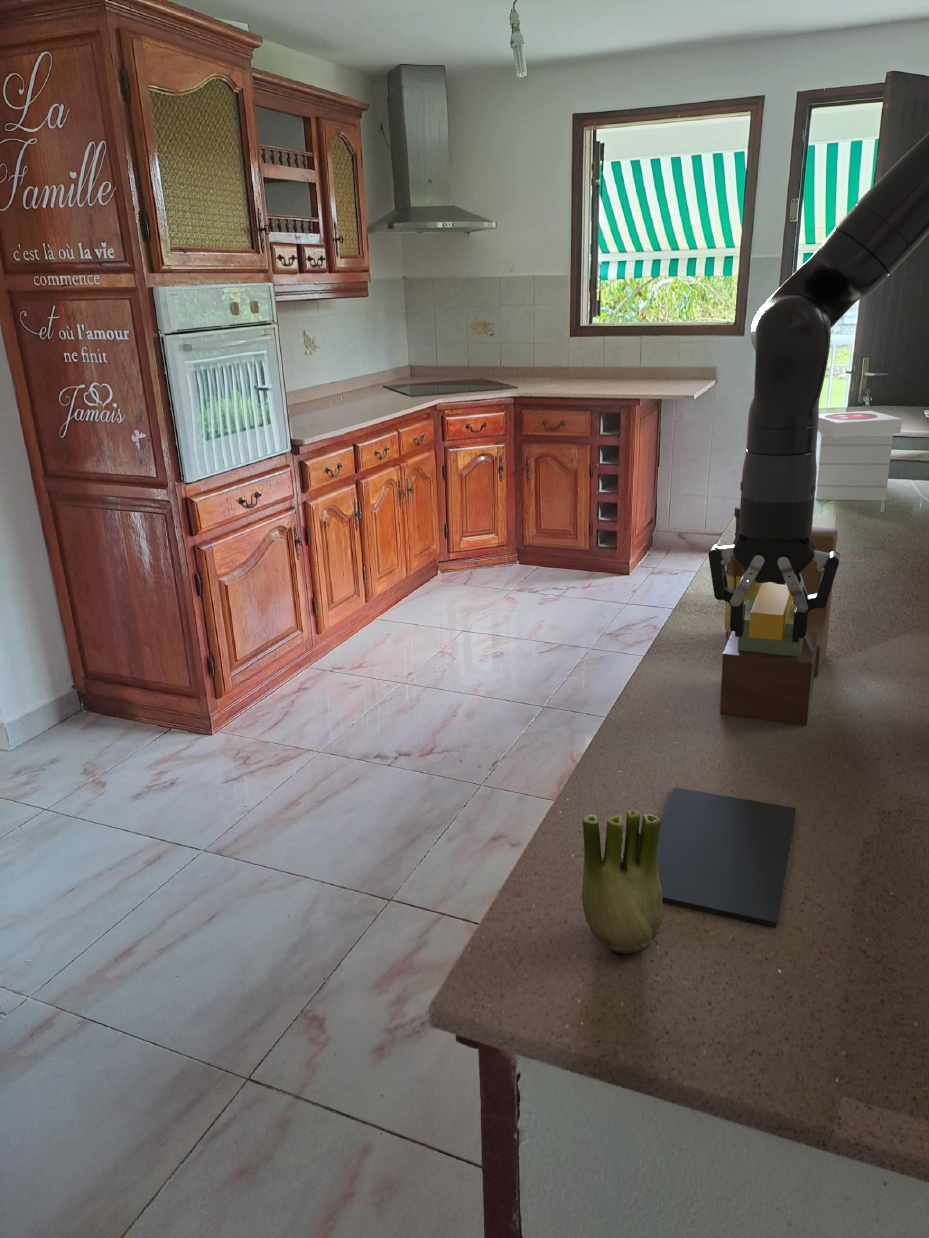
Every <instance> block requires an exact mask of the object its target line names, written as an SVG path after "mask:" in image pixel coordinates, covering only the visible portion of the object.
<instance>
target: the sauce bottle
mask: <svg viewBox="0 0 929 1238" xmlns="http://www.w3.org/2000/svg"><path fill="white" fill-rule="evenodd" d="M734 518H735V532H734V536H735V537H734V539H733V542H732V544H731V545H735V543H736V541H737V540H738V536H739V521H740V504H738V505H736V506H735V507H734ZM744 573H745V570H744V569H743V567H742V566H741V564H740V563H739V562H738V560H737V559H736V557H735V556H734V555H732V556H730V561H729V563H728V564H727V565H726V575H727V582H728V587H730V588H732V589H734V590H736V588H737V586H738V584H739V582H740V581H741V579H742V577H743V575H744ZM761 584H762V583H756V581H753V583H752V585H751V587H750V589H749V590H748V592H747V594H746V595H745V597H744V602H746V603H747V601H755V600H756V597H757V595H758V592H759V589H760V587H761ZM730 615H731V606H730V604H729V603H728V602H726V601H724V629H725V634H724V635H725V639H726V640H728V641H729V638H730V636H731V633H732V631H731V629H730Z"/></svg>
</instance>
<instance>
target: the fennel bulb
mask: <svg viewBox="0 0 929 1238" xmlns="http://www.w3.org/2000/svg"><path fill="white" fill-rule="evenodd" d="M625 813H626V822H625V835H624V824H623V823H624V820H623V819H624V818H623V816H622V815H620V814H613V815H612V816H609V817H608V818H607V819H606V830H605V841H604V855H602V847H601V846H602V845H601V844H602V843H601V833H600V826H599V825H600V824H599V819H598V818H599V817H598V816H597V815H595V814H593V813H592V814H588V815H586V816H584V817H583V818H582V832H583V849H584V850H583V875H582V887H581V900H582V908H583V914H584V919H585V921H586V924H588V926H589V929H590V931H591V933H592V936H594V938H595V939H596V940H597V941H599V942H600V943H602V944H603V946H605V947H607V948H608V949H609V950H610V951H612V952H615V953H617V954H621V955H635V954H638V953H639V954H640V953H642V952H644V951H645V950H646V949H648V948H650V946H651V943H652V942H653V941H654V940H655V939H656V937H657V935H658V933H659V932H660V929H661V926H662V920H663V909H664V908H663V903H664V902H662V891H661V885H660V879H659V873H658V866H657V850H658V839H659V830H660V824H661V821H660V820H661V818H659V817H658V816H656V815H655V814H650V813H649V814H647V813H645V814H642V820H641V814H640V812H639V811H636V810H632V809H627V810H626V811H625ZM640 820H641V822H640ZM640 823H641V828H640ZM623 835H624V836H625V837H624V846H623ZM622 846H623V848H622ZM622 849H623V850H622ZM622 851H623V853H622ZM602 856H603V857H602ZM622 856H623V857H622Z"/></svg>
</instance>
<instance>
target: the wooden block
mask: <svg viewBox="0 0 929 1238" xmlns="http://www.w3.org/2000/svg"><path fill="white" fill-rule="evenodd" d="M838 534H839V532H838V529H837V528H835V527H819V526H812V533H811V541H812V544H813V546H814V548H815V550H817V551H822V552H826V553H830V552H832V551H836V552H837V544H838ZM800 573H801V576H802V578H803V581H804V586H805V589H806V591H807V594H808V595H813V594H817V590H818V587H819V584H820V581H821V577H822V574H823V573H821V572H819V571H818V570H817V563H816V562H815V561H814V560H812V561H811V562H810V563H809V564H808V565H807V566H806V567H805V568H804V569H803V570H802V571H801V572H800ZM833 585H834V583H833V584H832V587H831V591H830V594H829V597H828V600H827V604H826V606H825V607H824V608H821V609H820V608H815V609H812V610H810V611H809V613H808V624H807V632H814V633H818V639H817V649H816V660H815V671H814V677H818V676H819V675H820V672H821V668H822V665H823V662H824V659H825V656H826V654H827V649H828V639H829V629H830V628H829V627H830V616H831V607H832V606H831V605H832V596H833ZM792 604H795V603H794V600H793V601H792Z"/></svg>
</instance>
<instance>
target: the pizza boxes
mask: <svg viewBox="0 0 929 1238" xmlns="http://www.w3.org/2000/svg"><path fill="white" fill-rule="evenodd" d="M902 424H903V418H901V417H897V416H892V415H889V414H885V413H881V412H877V411H874V410H860V411H858V410H857V411H842V412H828V413H819V423H818V435H817V446H816V464H817V476H816V491H815V500H816V501H818V500H819V501H861V502H863V501H865V502H866V501H868V502H870V501H871V502H886V500H887V492H888V491H887V490H888V483H889V474H890V465H891V456H892V447H893V439H894V435H895V434H901V433H902ZM893 434H894V435H893Z"/></svg>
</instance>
